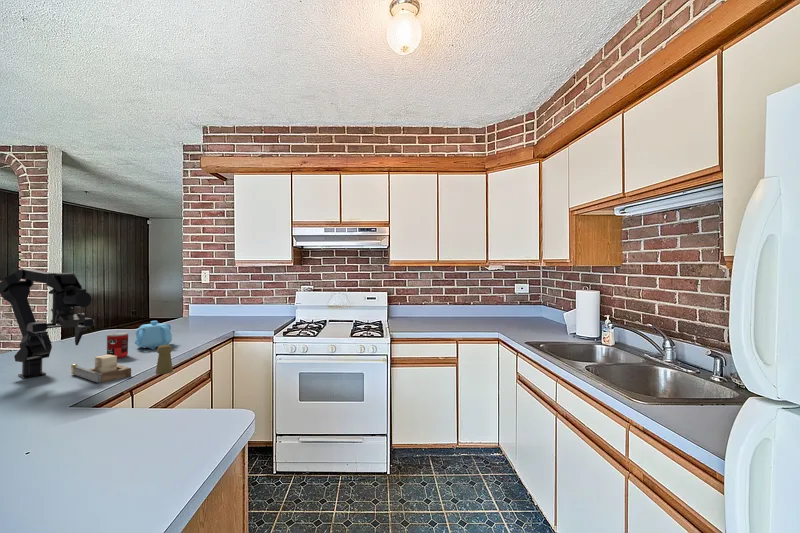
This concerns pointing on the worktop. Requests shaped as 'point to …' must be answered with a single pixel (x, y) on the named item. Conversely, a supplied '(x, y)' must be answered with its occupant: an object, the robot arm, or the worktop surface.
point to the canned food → (117, 344)
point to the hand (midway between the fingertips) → (61, 347)
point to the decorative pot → (153, 335)
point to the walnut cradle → (115, 373)
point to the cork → (164, 360)
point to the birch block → (105, 363)
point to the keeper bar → (85, 373)
